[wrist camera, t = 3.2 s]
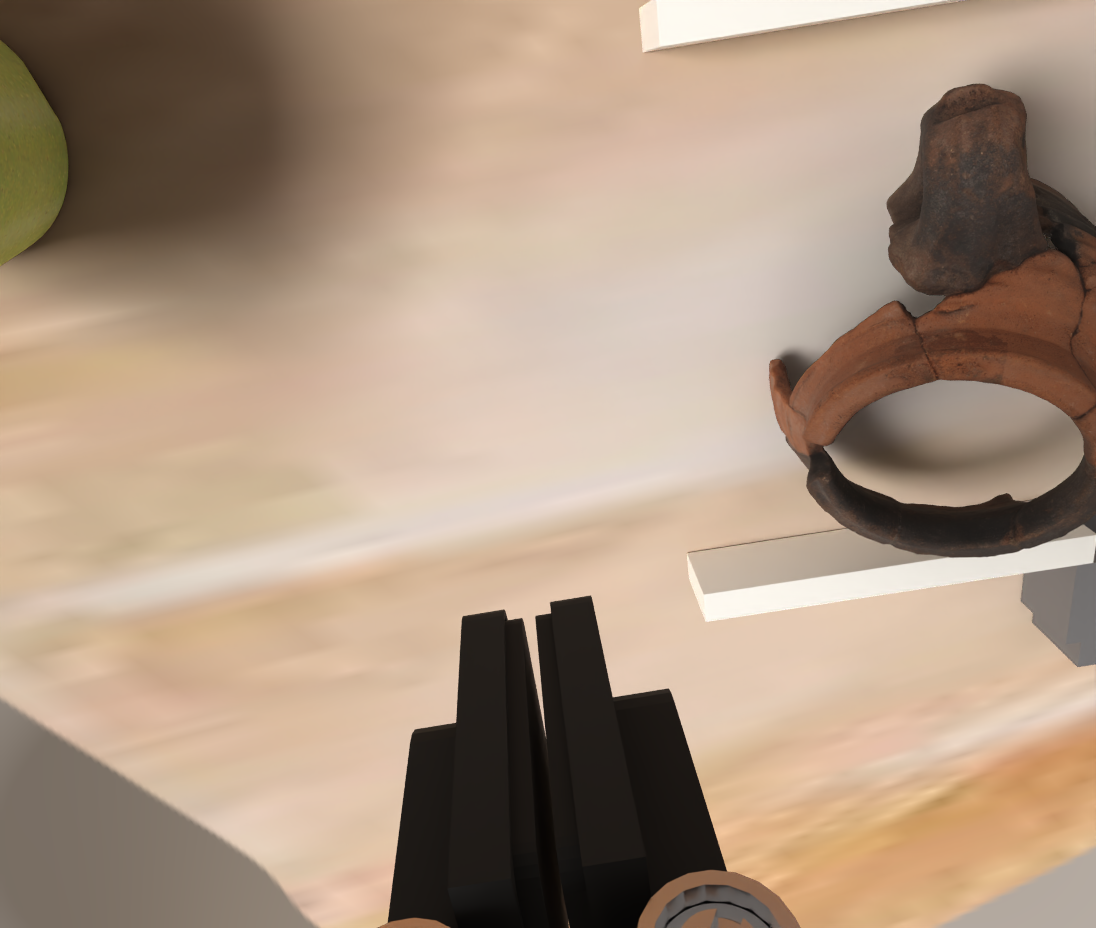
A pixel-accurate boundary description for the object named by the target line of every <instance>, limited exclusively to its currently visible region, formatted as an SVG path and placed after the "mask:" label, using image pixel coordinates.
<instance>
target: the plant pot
mask: <svg viewBox="0 0 1096 928" xmlns="http://www.w3.org/2000/svg"><path fill="white" fill-rule="evenodd" d="M67 181H68V153H67V145H66V141H65V136H64V133H63V129H62V126H61V123H60V121H59V119H58V118H57V116H56V115H55V113H54V111H53V110H52V108H51V107H50V105H49V103H48V102H47V100H46V98H45V97H44V95H43V94H42V92H41V90H40V89H39V87H38V85H37V84H36V82H35V80H34V79H33V77H32V76H31V74H30V72H29V71H28V69H27V68H26V66H25V64H24V62H23V61H22V60H21V59H20V58H19V57H18V56H17V55H16V54H15V53H14V52H13V51H12V50H11V49H10V48H9V47H8V46H7V45H6V44H4V43H3V42H2V41H1V40H0V266H1V265H3V264H4V263H6V262H7V261H9V260H10V259H12V258H13V257H15V256H16V255H18V254H19V253H21V252H23V251H24V250H25V249H27V248H28V247H29V246H31V245H32V244H34V243H35V242H36V241H37V240H38V239H40V238H41V237H42V236H43V235H44V234H45V232H46V231H47V230H48V229H49V228H50V227H51V225H52V224H53V222H54V220H55V219H56V217H57V215H58V214H59V211H60V209H61V206H62V204H63V202H64V197H65V193H66V189H67Z"/></svg>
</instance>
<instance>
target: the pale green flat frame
mask: <svg viewBox="0 0 1096 928" xmlns="http://www.w3.org/2000/svg"><path fill="white" fill-rule="evenodd" d="M959 1H965V0H651V1H649V2H648V3H646V4H645V5H643V6H642V7H640V8H639V15H640V26H641V37H642V49H643V52H649V51H655V50H661V49H668V48H674V47H680V46H686V45H692V44H699V43H705V42H711V41H717V40H723V39H730V38H736V37H742V36H748V35H754V34H761V33H767V32H773V31H779V30H785V29H792V28H798V27H804V26H810V25H817V24H823V23H829V22H835V21H841V20H848V19H854V18H860V17H866V16H872V15H879V14H885V13H891V12H897V11H903V10H910V9H916V8H922V7H928V6H934V5H941V4H947V3H953V2H959ZM1030 501H1031V500H1030ZM1024 502H1029V501H1024ZM687 561H688V573H689V580H690V582H691V585H692V587H693V590H694V593H695V595H696V598H697V600H698V603H699V605H700V608H701V611H702V613H703V616H704V618H705V621H706V622H708V621H714V620H721V619H727V618H734V617H741V616H747V615H754V614H760V613H767V612H774V611H780V610H787V609H793V608H800V607H806V606H813V605H820V604H826V603H833V602H839V601H846V600H853V599H859V598H866V597H872V596H879V595H885V594H892V593H899V592H905V591H912V590H918V589H925V588H932V587H938V586H945V585H951V584H958V583H964V582H971V581H978V580H984V579H991V578H997V577H1004V576H1011V575H1017V574H1024V577H1023V586H1022V595H1021V602H1022V603H1023V604H1024V605H1025V606H1026V607H1027V608H1028V609H1029V610H1031V611H1032V612H1033V620H1032V623H1033V624H1034V625H1035V626H1036V627H1037V628H1038V629H1039V630H1040V631H1041V632H1042V633H1043V634H1044V635H1046V636H1047V637H1048V638H1049V639H1050V640H1051V641H1052V642H1053V643H1054V644H1055V645H1056V646H1057V647H1058V648H1059V649H1060V650H1061V651H1062V652H1063V653H1064V654H1065V655H1066V656H1067V657H1068V658H1069V659H1070V660H1071V661H1072V662H1073V663H1074V664H1075V665H1076V666H1077V667H1081V666H1088V665H1094V664H1096V514H1095V515H1094V516H1093V517H1092V518H1091V519H1090V520H1089V521H1088V522H1087V523H1085V524H1083V525H1081V526H1080V527H1078V528H1076V529H1074V530H1072V531H1071V532H1069V533H1068V534H1067V535H1065V536H1063V537H1060V538H1057V539H1054V540H1051V541H1050V542H1047V543H1044V544H1041V545H1039V546H1036V547H1033V548H1030V549H1023V550H1021V551H1019V552H1015V553H1010V554H1004V555H997V556H990V557H980V558H978V557H968V558H961V557H960V558H949V557H942V556H937V555H920V554H915V553H913V552H909V551H905V550H901V549H897V548H895V547H893V546H892V545H890V544H881V543H878V542H876V541H873V540H870V539H867V538H865V537H863V536H860V535H858V534H857V533H855V532H853V531H851V530H850V529H848V528H847V529H841V530H834V531H828V532H821V533H815V534H808V535H802V536H795V537H789V538H782V539H775V540H769V541H762V542H756V543H749V544H743V545H736V546H730V547H723V548H717V549H710V550H704V551H697V552H691V553H687Z"/></svg>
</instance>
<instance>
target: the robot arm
mask: <svg viewBox="0 0 1096 928" xmlns="http://www.w3.org/2000/svg"><path fill="white" fill-rule="evenodd" d="M550 606H551V614H545V615H539V616H536V617H535V618H536V630H537V641H538V652H539V663H540V674H541V685H542V696H543V708H544V719H545V730H546V736H545V731H544V726H543V721H542V715H541V710H540V705H539V700H538V694H537V689H536V684H535V679H534V673H533V668H532V663H531V658H530V652H529V647H528V642H527V637H526V632H525V626H524V622H523V619H522V618H520V619H514V620H507V615H506V612H505V610H499V611H492V612H486V613H480V614H474V615H468V616H463V617H462V626H461V645H460V663H459V682H458V700H457V719H456V723H452V724H446V725H440V726H434V727H428V728H421V729H415V730H414V732H413V733H412V737H411V742H410V749H409V757H408V765H407V773H406V781H405V789H404V797H403V805H402V813H401V821H400V829H399V837H398V845H397V853H396V861H395V869H394V877H393V885H392V893H391V901H390V909H389V917H388V923H387V924H385V925H382V926H380V927H378V928H569V926H570V928H801V927H800V926H799V924H798V922H797V920H796V918H795V917H794V916H793V914H792V913H791V912H790V910H789V909H788V908H787V906H786V905H785V904H784V902H783V901H782V900H781V899H780V897H779V896H777V895H776V894H775V893H773V892H772V891H771V890H769V889H768V888H767V887H765V886H764V885H763V884H761V883H760V882H758V881H756V880H753V879H751V878H748V877H745V876H743V875H740V874H738V873H735V872H727V870H726V867H725V863H724V860H723V857H722V854H721V850H720V847H719V844H718V841H717V838H716V834H715V831H714V828H713V825H712V822H711V818H710V815H709V812H708V809H707V805H706V802H705V799H704V796H703V793H702V789H701V786H700V783H699V780H698V776H697V773H696V770H695V767H694V764H693V760H692V757H691V754H690V751H689V748H688V744H687V741H686V738H685V735H684V731H683V728H682V725H681V722H680V719H679V715H678V712H677V709H676V706H675V702H674V700H673V697H672V694H671V692H670V690H669V689H663V690H657V691H650V692H644V693H638V694H632V695H626V696H619V697H612V692H611V688H610V683H609V678H608V673H607V668H606V664H605V659H604V654H603V649H602V644H601V640H600V635H599V630H598V625H597V620H596V616H595V611H594V606H593V601H592V597H591V596H585V597H579V598H573V599H567V600H561V601H554V602H550ZM546 741H547V742H546ZM568 921H569V924H568Z"/></svg>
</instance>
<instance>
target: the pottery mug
mask: <svg viewBox="0 0 1096 928" xmlns="http://www.w3.org/2000/svg"><path fill="white" fill-rule="evenodd" d="M1026 119H1027V114H1026V111H1025V107H1024V104H1023V103H1022V101H1021V98H1020V97H1019V96H1017V95H1016V94H1014V93H1012V92H1008V91H1004V90H998V89H993V88H991V87H990V86H988V85H985V84H971V85H967V86H963V87H958V88H953V89H951V90H949V91H948V92H947V93H945V94H944V95H943V97H942V98H941V100H940V101H939V102H938V103H936V104H935V105H934V106H933V107H931V108H930V109H929V110H928V111H927V112H926V113H925V114H924V116H923V118H922V120H921V136H920V146H919V152H918V157H917V161H916V164H915V167H914V170H913V172H912V174H911V175H910V176H909V178H908V179H907V180H906V181H905V182H904V183H903V184H902V185H901V186H900V187H899V188H898V189H897V190H896V191H895V192H894V193H893V194H892V195H891V196H890V197H889V199H888V200H887V209H888V211H889V214H890V216H891V219H892V221H893V223H894V224H893V225H892V226H891V227H890V228H889V237H890V245H889V247H888V252H889V254H888V255H889V259H890V261H891V263H892V265H893V266H894V268H895V269H896V270H897V271H898V272H899V273H900V274H901V275H902V277H903V278H904V280H905V281H906V283H907V284H908V285H910V286H911V287H912V288H913V289H915V290H916V291H919V292H922V293H925V294H927V295H945V296H946V297H945V298H944V300H943V301H942V302H941V303H940V304H938V305H937V306H936V308H935V309H934V310H932V311H929V312H927V313H925V314H924V315H922V316H920V317H918V318H915V317H913V316H912V315H911V313H910V312H908V311H907V310H906V307H905V306H904V305H903V304H902V303H900V302H899V301H892V302H890V303H888V304H886V305H885V306H883V307H882V308H880V309H879V310H878V311H877V312H876V313H874V314H872V315H871V316H869V317H868V318H867V319H865V320H864V321H862V322H861V323H860V324H859V325H857V326H856V327H855V328H854V329H852V330H850V331H848V332H847V333H846V334H844V335H843V336H841V337H840V338H838V339H837V340H836V341H835V342H834V343H833V344H832V346H831V347H830V348H829V349H828V350H827V351H826V352H825V353H824V354H823V355H822V356H821V357H820V358H819V359H818V360H817V361H816V362H814V363H813V364H812V365H811V366H810V367H809V368H808V369H807V370H806V371H805V373H804V374H803V375H802V377H801V378H800V379H799V381H798V382H797V384H796V386H795V388H794V390H793V391H792V390H791V387H790V382H789V379H788V375H787V370H786V366H785V365H784V363H783V362H782V361H781V360H779V359H775V360H771V361H770V364H769V372H770V374H769V379H770V389H771V396H772V400H773V404H774V410H775V414H776V418H777V421H778V423H779V426H780V428H781V430H782V431H783V433H784V434H785V435H786V441H787V443H788V444H789V446H790V447H791V448H792V450H793V451H794V452H795V453H796V454H797V456H798V457H799V458H800V460H801V461H802V462H803V463H804V465H805V466H806V467H807V468H808V469H809V472H808V477H807V485H806V487H807V489H808V491H809V493H810V494H811V495H812V497H813V498H814V499H815V500H816V502H817V503H818V504H819V505H820V506H821V507H822V508H823V509H824V510H825V511H826V512H828V513H829V514H830V515H831V516H832V517H834V518H835V519H836V520H837V521H838V522H839V523H840V524H841V525H843V526H845V527H846V528H848V529H850V530H851V531H853V532H855V533H857V534H858V535H860V536H863V537H865V538H867V539H870V540H873V541H876V542H878V543H881V544H890V545H892V546H893V547H895V548H897V549H901V550H905V551H909V552H913V553H915V554H920V555H937V556H942V557H949V558H960V557H961V558H968V557H978V558H980V557H990V556H997V555H1004V554H1010V553H1015V552H1019V551H1021V550H1023V549H1030V548H1033V547H1036V546H1039V545H1041V544H1044V543H1047V542H1050V541H1051V540H1054V539H1057V538H1060V537H1063V536H1065V535H1067V534H1068V533H1069V532H1071V531H1072V530H1074V529H1076V528H1078V527H1080V526H1081V525H1083V524H1085V523H1087V522H1088V521H1089V520H1090V519H1091V518H1092V517H1093V516H1094V515H1095V514H1096V226H1094V225H1093V224H1092V223H1091V222H1090V221H1089V220H1088V219H1087V218H1086V217H1084V216H1083V215H1082V214H1081V213H1080V212H1079V211H1078V209H1077V208H1076V207H1075V206H1074V205H1073V204H1072V203H1071V202H1070V201H1069V200H1067V199H1066V198H1065V197H1064V196H1063V195H1062V194H1060V193H1059V192H1057V191H1056V190H1054V189H1053V188H1051V187H1049V186H1048V185H1046V184H1044V183H1042V182H1040V181H1038V180H1035V179H1032V178H1030V177H1029V173H1028V169H1027V154H1026V141H1025V126H1026ZM1043 234H1045V235H1046V236H1048V237H1050V238H1051V240H1052V242H1053V244H1054V246H1055V247H1056V248H1057V249H1058V250H1055V249H1051V248H1049V247H1048V244H1047V241H1046V239H1045V236H1044V235H1043ZM940 379H941V380H950V381H951V380H966V381H979V382H985V383H993V384H1000V385H1004V386H1008V387H1011V388H1016V389H1020V390H1023V391H1025V392H1028V393H1031V394H1034V395H1036V396H1038V397H1040V398H1042V399H1045V400H1047V401H1049V402H1050V403H1052V404H1053V405H1055V406H1057V407H1058V408H1060V409H1061V410H1062V411H1063V412H1065V413H1066V414H1067V415H1068V416H1070V417H1071V419H1072V420H1073V421H1074V423H1075V424H1076V426H1077V427H1078V428H1079V430H1080V432H1081V434H1082V436H1083V440H1084V456H1083V459H1082V461H1081V463H1080V465H1079V466H1078V468H1077V469H1076V470H1075V471H1074V472H1073V474H1071V475H1070V476H1069V477H1068V478H1067V479H1066V480H1064V481H1063V482H1062V483H1061V484H1059V485H1058V486H1057V487H1055V488H1053V489H1052V490H1050V491H1048V492H1047V493H1045V494H1043V495H1041V496H1039V497H1038V498H1035V499H1033V500H1031V501H1029V502H1021V501H1015V500H1013V499H1012V497H1011V495H1009V494H1007V493H1006V494H1003V495H999V496H997V497H995V498H993V499H992V500H990V501H988V502H985V503H982V504H978V505H971V506H965V507H948V506H935V505H927V504H904V503H900V502H898V501H896V500H895V499H893V498H891V497H888V496H886V495H883V494H880V493H878V492H875V491H872V490H869V489H866V488H864V487H862V486H859V485H857V484H855V483H853V482H851V481H849V480H848V479H846V478H845V477H844V476H843V474H842V473H841V472H840V471H839V469H838V468H837V467H836V465H835V463H834V462H833V460H832V458H831V457H830V456H829V454H828V453H827V452H826V451H825V450H824V448H823V446H828V445H830V444H832V443H833V442H834V440H835V438H836V436H837V435H838V434H839V432H840V431H841V430H842V428H843V427H844V426H845V424H846V423H847V422H848V421H849V420H850V419H851V418H852V417H853V416H854V415H855V414H856V413H857V412H858V411H859V410H860V409H862V408H864V407H865V406H867V405H869V404H871V403H873V402H875V401H877V400H879V399H880V398H882V397H884V396H887V395H890V394H892V393H895V392H898V391H901V390H905V389H909V388H912V387H915V386H918V385H922V384H925V383H930V382H933V381H936V380H940Z"/></svg>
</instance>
